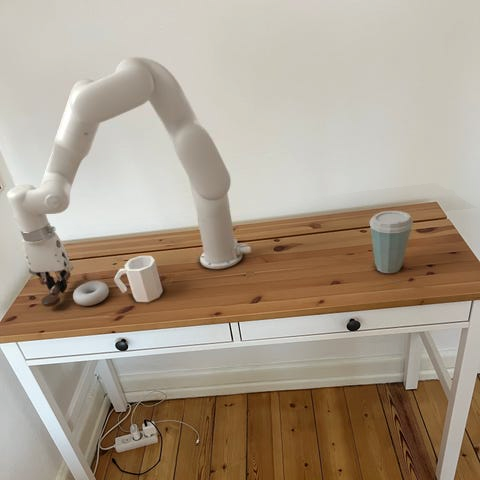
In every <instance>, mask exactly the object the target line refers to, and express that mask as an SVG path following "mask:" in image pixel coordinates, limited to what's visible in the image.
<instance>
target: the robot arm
mask: <svg viewBox="0 0 480 480" xmlns="http://www.w3.org/2000/svg"><path fill="white" fill-rule="evenodd" d="M147 102H149V104H150V105H151V106H152V108H153V110H154V112H155V114H156V116H157V117H158V119H159V120H160V122H161V124H162V126H163V128H164V129H165V130H164V131H166V133H167V136H168V138H169V141H170V144H171V147H172V149H173V151H174V153H175V155H176V157H177V158H178V160H179V162H180V164H181V166H182V167H183V169H184V172H185V173H186V175H187V179H188V181H189V186H190V189H191V190H190V191H191V193H192V198H193V202H194V208H195V213H196V219H197V225H198V229H199V234H200V239H201V244H202V249H203V252H202V254H201V255H200V257H199V261H200V264H201V266H203V267H205V268H208V269H210V270H220V269H227V268H230V267H233V266H235V265H237V264H238V263H240V261H241V260H242V258H243V254H244V255H245V254H252V247H251V246H248V245H249V244H248V243H243V244H240V243H238V239H235V233H234V232H235V231H234V226H233V220H232V214H231V207H230V199H229V194H228V192H229V191H230V188H231V183H232V181H231V176H230V172H229V170H228V168H227V166H226V164H225V162H224V159H223V158H222V156H221V154H220V152H219V149H218V147H217V145H216V143H215V141H214V139H213V138H212V136H211V134H210V133H209V131H208V130H207V128H206V127H205V126H204V125H203V123H202V122H201V121H200V119H199V118H198V116H197V114H196V112H195V110H194V108H193V107H192V105H191V102H190V101H189V98H187V95H186V93H185V92H184V90H183V88H182V86H181V85H180V83H179V81H178V80H177V79H176V77H175V76H174V74H172V72H171V71H169V69H168V68H166V67H165V66H163V65H162V64H161V63H160V62H157V61H155V60H153V59H151V58H147V57H142V56H141V57H140V56H132V57H127V58H125V59H123V60H122V61H120V62H119V63H118V65H117V66H116V68H115V72H113V73H111V74H109V75H107V76H105V77H102V78H100V79H97V80H93V79H90V78H89V79H88V78H87V79H86V78H84V79H80V80H78V81H77V82H76V83H75V84H73V86H72V88H71V90H70V94H69V96H68V99H67V102H66V105H65V107H64V110H63V114H62V117H61V119H60V123H59V125H58V129H57V131H56V133H55V137H54V141H53V147H52V150H51V154H50V155H49V156H50V157H49V159H48V162H47V165H46V168H45V170H44V173H43V176H42V179H41V183H40V186H39V187H38V188H37V187H35V186H34V185H33V184H21V185H17V186H14V187H12V188H10V189H9V190H8V192H7V194H6V199H7V202H8V204H9V206H10V208H11V211H12V213H13V216H14V219H15V221H16V224H17V226H18V229H19V231H20V234H21V237H22V240H21V242H22V248H23V253H24V257H25V259H26V262H27V265H28V267H29V268H28V269H29V270H28V273H29V274H31V275H33V276H37V277H38V278H39V279H41V280H42V281H43V282H45V284H46V287H47V289H48V290H49V291H50V290H51V288H52V287H53V285H54V284H55V283H56V281H57V284H58V286H59V289H60V293H61V294H64V293H65V292H66V290H67V288H68V283H67V282H66V281H65V278H64V276H65V274H66V273H68V272H70V273H71V271H73V269H74V266H73V265H72V263H70V257H69V255H68V254H67V251H66V248H65V246H64V244H63V242H62V240H61V238H60V237H59V236H58V234H57V232H56V231H57V230H56V227H55V226H52V225H51V223H50V222H49V219H48V216H47V215H56V214H60V213H63V212H65V211H66V210H67V209H68V208H69V205H70V202H71V189H72V187H73V185H74V184H73V183H74V182H75V181H74V180H75V178H76V176H77V173H78V171H79V168H80V165H81V163H82V161H83V160H84V159H85V158H86V157H87V156H88V155H89V153H90V152H91V149H92V146H93V143H94V141H95V138H96V135H97V133H98V131H99V130H98V129H99V127H100V124H101V123H103V122H106V121H109V120H111V119H114V118H117V117H119V116H121V115H123V114H125V113H127V112H130V111H132V110H134V109H136V108H139V107H141V106H144V104H146V103H147ZM51 272H54V274H55V276H56V281H55V279H54V277H53V276H52V275H51Z"/></svg>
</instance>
